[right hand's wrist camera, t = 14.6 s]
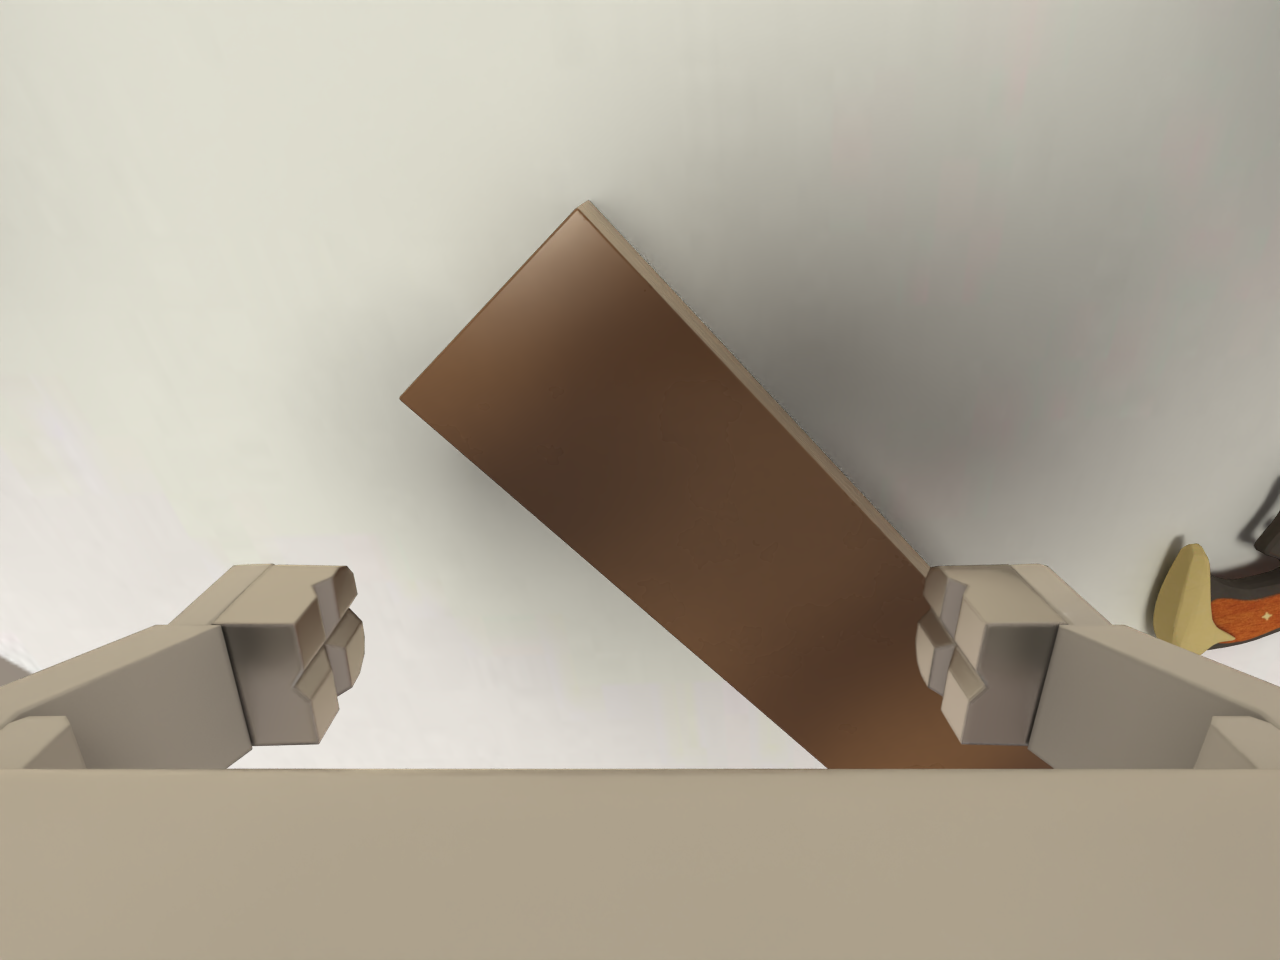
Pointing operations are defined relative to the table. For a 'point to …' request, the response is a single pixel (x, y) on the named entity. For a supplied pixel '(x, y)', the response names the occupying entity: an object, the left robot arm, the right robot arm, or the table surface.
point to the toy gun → (1218, 601)
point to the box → (697, 499)
